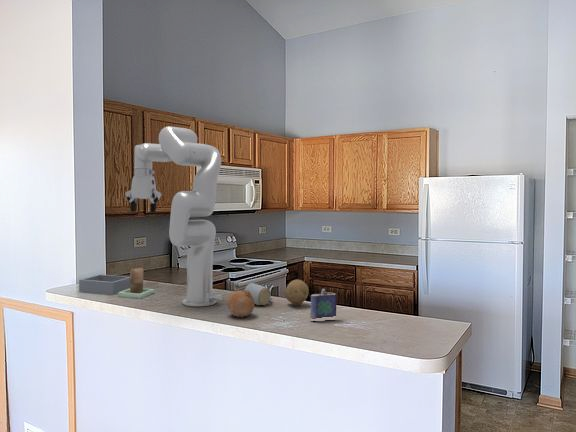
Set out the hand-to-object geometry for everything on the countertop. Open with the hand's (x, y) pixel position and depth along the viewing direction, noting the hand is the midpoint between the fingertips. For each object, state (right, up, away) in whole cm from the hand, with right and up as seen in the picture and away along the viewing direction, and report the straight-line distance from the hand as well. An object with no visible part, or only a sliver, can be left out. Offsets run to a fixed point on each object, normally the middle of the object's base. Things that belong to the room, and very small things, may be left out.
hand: (143, 212), depth 202 cm
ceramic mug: (+53, -36, -28) cm, 70 cm away
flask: (+76, -37, -49) cm, 97 cm away
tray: (+3, -34, -19) cm, 39 cm away
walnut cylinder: (+3, -33, -19) cm, 38 cm away
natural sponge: (+67, -36, -30) cm, 82 cm away
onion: (+48, -36, -45) cm, 75 cm away
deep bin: (-12, -33, -10) cm, 37 cm away
